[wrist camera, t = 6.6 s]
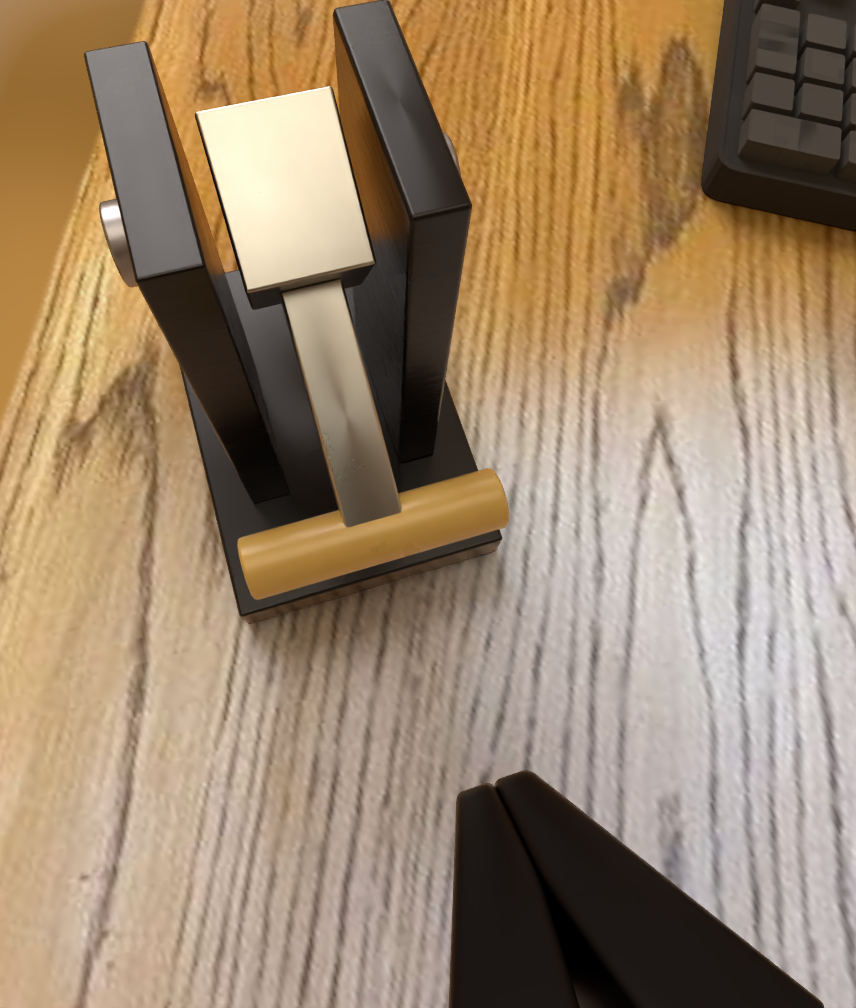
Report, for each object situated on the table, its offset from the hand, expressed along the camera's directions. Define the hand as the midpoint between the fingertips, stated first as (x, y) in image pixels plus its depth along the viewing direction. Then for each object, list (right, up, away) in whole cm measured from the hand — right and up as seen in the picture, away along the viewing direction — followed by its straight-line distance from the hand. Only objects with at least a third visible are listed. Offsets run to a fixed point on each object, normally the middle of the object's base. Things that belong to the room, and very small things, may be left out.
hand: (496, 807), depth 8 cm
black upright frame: (-4, +6, +13) cm, 15 cm away
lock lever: (-3, +6, +7) cm, 9 cm away
